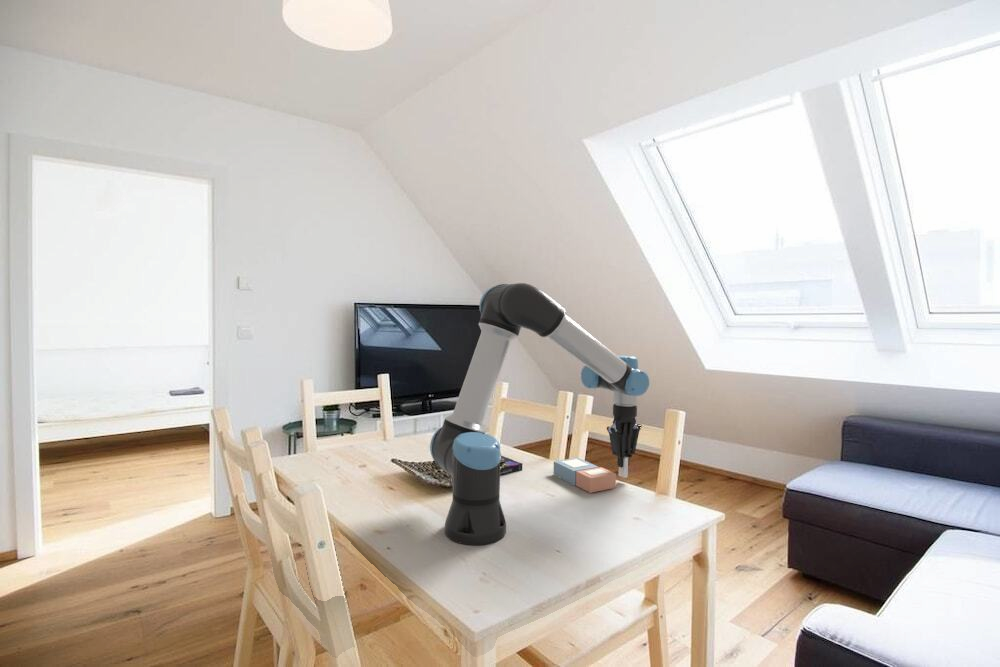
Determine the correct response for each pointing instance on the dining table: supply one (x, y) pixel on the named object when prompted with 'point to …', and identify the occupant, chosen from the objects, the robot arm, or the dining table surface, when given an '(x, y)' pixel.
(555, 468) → the white-topped blue block
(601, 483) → the white-topped pink block
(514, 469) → the box
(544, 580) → the dining table surface
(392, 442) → the dining table surface
